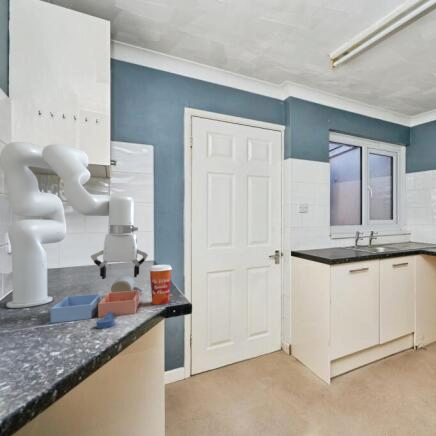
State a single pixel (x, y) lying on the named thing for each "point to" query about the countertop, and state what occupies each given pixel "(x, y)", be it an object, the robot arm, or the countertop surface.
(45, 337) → the countertop surface
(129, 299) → the clay bin
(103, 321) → the slate spoon
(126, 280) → the ceramic mug
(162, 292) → the paper cup
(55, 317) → the slate bin
